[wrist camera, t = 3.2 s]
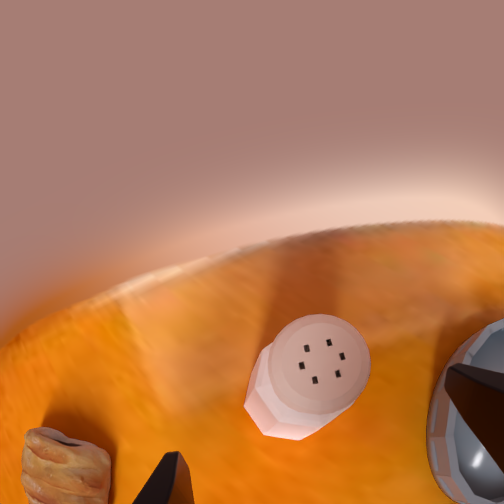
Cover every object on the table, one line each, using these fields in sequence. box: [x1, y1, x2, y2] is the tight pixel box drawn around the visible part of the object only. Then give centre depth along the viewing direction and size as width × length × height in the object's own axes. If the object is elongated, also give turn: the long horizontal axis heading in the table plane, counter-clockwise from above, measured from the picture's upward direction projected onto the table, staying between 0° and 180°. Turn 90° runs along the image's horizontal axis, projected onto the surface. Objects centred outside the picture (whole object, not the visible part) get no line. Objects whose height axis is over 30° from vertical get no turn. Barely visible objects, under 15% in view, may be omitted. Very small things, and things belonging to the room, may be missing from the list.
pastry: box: [21, 427, 111, 504], centre depth 12 cm, size 9×7×4 cm
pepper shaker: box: [244, 314, 371, 440], centre depth 12 cm, size 5×5×11 cm
